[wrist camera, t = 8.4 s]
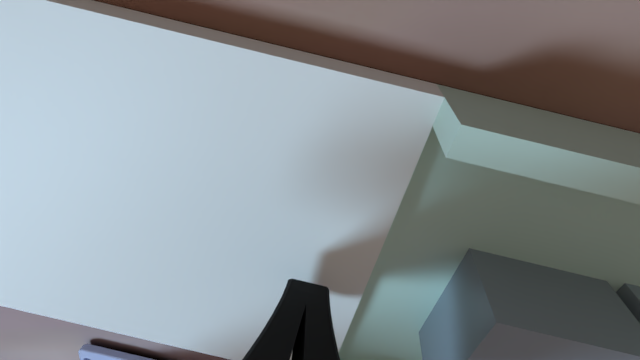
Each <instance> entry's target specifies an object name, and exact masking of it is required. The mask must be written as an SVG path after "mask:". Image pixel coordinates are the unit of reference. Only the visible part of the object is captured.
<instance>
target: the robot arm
mask: <svg viewBox="0 0 640 360" xmlns="http://www.w3.org/2000/svg"><path fill="white" fill-rule="evenodd" d="M291 354H292V359H291V360H340V357H339V353H338V348H337V344H336V339H335V334H334V329H333V323H332V316H331V309H330V297H329V289H328V287H326V286H322V285H318V284H313V283H309V282H305V281H301V280H296V279H289V280H288V282H287V285H286V287H285V290H284V292H283V295H282V297H281V299H280V301H279V303H278V305H277V307H276V308H275V310H274V312H273V314H272V315H271V317H270V319H269V320H268V322H267V324H266V325H265V327H264V329H263V330H262V332H261V333H260V335H259V336H258V338H257V339H256V341H255V342H254V344H253V345H252V347H251V348H250V349H249V351H248V352H247V354H246V355H245V357H244V358H243V359H242V360H290V357H291ZM79 357H80V360H155V359H151V358H147V357H142V356H138V355H134V354H130V353H125V352H121V351H117V350H112V349H108V348H104V347H100V346H95V345H91V344H85V345H83V346H82V347H81V349H80V350H79Z"/></svg>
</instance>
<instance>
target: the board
mask: <svg viewBox="0 0 640 360" xmlns="http://www.w3.org/2000/svg"><path fill="white" fill-rule="evenodd" d="M443 100H444V96H443V94H442V92H441V91H440V89H439V87H438V86H437V84H434V83H430V82H426V81H422V80H418V79H414V78H410V77H406V76H401V75H397V74H393V73H389V72H385V71H381V70H377V69H373V68H369V67H365V66H360V65H356V64H352V63H348V62H344V61H340V60H336V59H332V58H328V57H324V56H319V55H315V54H311V53H307V52H303V51H299V50H295V49H291V48H287V47H282V46H278V45H274V44H270V43H266V42H262V41H258V40H254V39H250V38H246V37H241V36H237V35H233V34H229V33H225V32H221V31H217V30H213V29H209V28H205V27H200V26H196V25H192V24H188V23H184V22H180V21H176V20H172V19H168V18H163V17H159V16H155V15H151V14H147V13H143V12H139V11H135V10H131V9H127V8H122V7H118V6H114V5H110V4H106V3H102V2H98V1H94V0H0V306H4V307H8V308H13V309H17V310H21V311H25V312H30V313H34V314H38V315H42V316H47V317H51V318H55V319H59V320H64V321H68V322H72V323H76V324H81V325H85V326H89V327H94V328H98V329H102V330H106V331H111V332H115V333H119V334H123V335H128V336H132V337H136V338H140V339H145V340H149V341H153V342H157V343H162V344H166V345H170V346H175V347H179V348H183V349H187V350H192V351H196V352H200V353H204V354H209V355H213V356H217V357H221V358H226V359H230V360H242V359H243V358H244V357H245V355H246V354H247V352H248V351H249V349H250V348H251V347H252V345H253V344H254V342H255V341H256V339H257V338H258V336H259V335H260V333H261V332H262V330H263V329H264V327H265V325H266V324H267V322H268V320H269V319H270V317H271V315H272V314H273V312H274V310H275V308H276V307H277V305H278V303H279V301H280V299H281V297H282V295H283V292H284V290H285V287H286V285H287V282H288V280H289V279H296V280H301V281H305V282H309V283H313V284H318V285H322V286H326V287H328V289H329V297H330V309H331V316H332V323H333V329H334V334H335V339H336V344H337V348H338V353H339V350H340V348H341V345H342V343H343V341H344V338H345V336H346V333H347V331H348V329H349V326H350V324H351V321H352V319H353V317H354V314H355V312H356V309H357V307H358V305H359V302H360V300H361V297H362V295H363V292H364V290H365V288H366V285H367V283H368V280H369V278H370V276H371V273H372V271H373V268H374V266H375V264H376V261H377V259H378V256H379V254H380V252H381V249H382V247H383V244H384V242H385V239H386V237H387V235H388V232H389V230H390V227H391V225H392V223H393V220H394V218H395V215H396V213H397V211H398V208H399V206H400V203H401V201H402V199H403V196H404V194H405V191H406V189H407V187H408V184H409V182H410V179H411V177H412V174H413V172H414V170H415V167H416V165H417V162H418V160H419V158H420V155H421V153H422V150H423V148H424V146H425V143H426V141H427V138H428V136H429V134H430V131H431V129H432V126H433V124H434V122H435V119H436V117H437V114H438V112H439V109H440V107H441V105H442V102H443ZM291 359H292V354H291V357H290V360H291Z"/></svg>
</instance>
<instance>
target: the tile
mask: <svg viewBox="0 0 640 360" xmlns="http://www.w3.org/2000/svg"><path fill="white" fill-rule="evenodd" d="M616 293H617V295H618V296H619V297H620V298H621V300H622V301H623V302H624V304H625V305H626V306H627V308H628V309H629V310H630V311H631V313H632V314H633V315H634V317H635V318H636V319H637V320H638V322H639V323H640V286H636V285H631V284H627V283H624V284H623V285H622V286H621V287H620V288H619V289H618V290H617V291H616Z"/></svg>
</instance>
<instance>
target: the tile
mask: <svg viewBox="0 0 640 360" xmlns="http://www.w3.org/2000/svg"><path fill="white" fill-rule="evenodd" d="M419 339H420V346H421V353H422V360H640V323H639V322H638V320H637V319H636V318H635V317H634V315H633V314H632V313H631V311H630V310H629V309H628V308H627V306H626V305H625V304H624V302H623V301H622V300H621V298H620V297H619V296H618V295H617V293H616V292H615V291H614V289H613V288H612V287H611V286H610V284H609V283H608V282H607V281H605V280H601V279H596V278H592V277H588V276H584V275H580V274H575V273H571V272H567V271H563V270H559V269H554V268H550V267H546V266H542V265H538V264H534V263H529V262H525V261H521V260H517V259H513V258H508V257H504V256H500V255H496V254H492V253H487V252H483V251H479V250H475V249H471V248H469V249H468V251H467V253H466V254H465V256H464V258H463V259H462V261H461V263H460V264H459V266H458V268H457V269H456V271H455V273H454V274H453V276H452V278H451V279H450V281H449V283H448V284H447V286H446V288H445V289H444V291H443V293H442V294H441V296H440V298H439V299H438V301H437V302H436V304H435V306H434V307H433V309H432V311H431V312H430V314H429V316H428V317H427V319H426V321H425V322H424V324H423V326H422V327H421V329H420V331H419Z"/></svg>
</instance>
